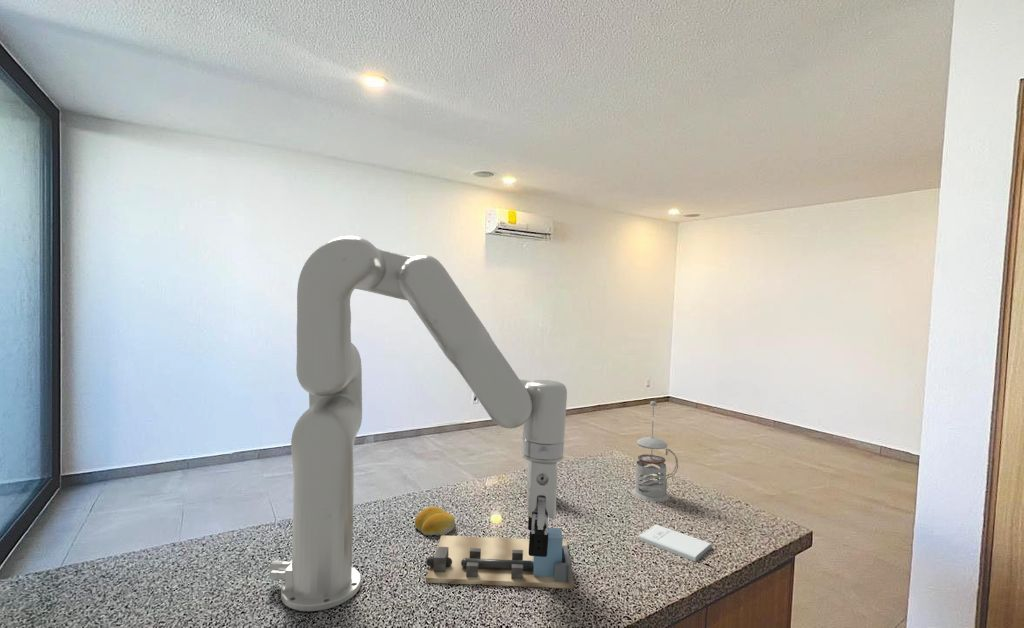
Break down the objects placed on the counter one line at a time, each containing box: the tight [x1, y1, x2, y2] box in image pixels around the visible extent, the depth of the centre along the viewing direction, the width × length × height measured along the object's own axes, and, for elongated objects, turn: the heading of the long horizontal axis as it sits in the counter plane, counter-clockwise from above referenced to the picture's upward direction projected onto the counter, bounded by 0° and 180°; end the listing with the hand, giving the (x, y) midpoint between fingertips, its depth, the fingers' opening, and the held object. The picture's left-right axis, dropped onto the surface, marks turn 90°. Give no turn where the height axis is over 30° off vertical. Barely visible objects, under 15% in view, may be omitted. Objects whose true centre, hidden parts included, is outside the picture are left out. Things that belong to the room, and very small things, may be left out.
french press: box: [631, 400, 679, 503], centre depth 130 cm, size 10×12×25 cm
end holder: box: [554, 545, 572, 582], centre depth 89 cm, size 3×7×3 cm, turn 179°
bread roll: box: [414, 506, 456, 537], centre depth 107 cm, size 8×9×4 cm
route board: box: [425, 535, 575, 589], centre depth 93 cm, size 27×16×3 cm, turn 89°
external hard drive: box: [638, 524, 712, 562], centre depth 103 cm, size 2×8×12 cm
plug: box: [461, 527, 563, 577], centre depth 89 cm, size 18×4×7 cm, turn 89°
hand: (536, 542), depth 89 cm, fingers open, 9 cm apart
